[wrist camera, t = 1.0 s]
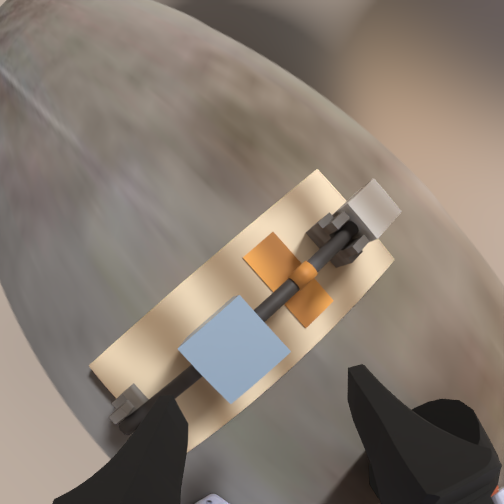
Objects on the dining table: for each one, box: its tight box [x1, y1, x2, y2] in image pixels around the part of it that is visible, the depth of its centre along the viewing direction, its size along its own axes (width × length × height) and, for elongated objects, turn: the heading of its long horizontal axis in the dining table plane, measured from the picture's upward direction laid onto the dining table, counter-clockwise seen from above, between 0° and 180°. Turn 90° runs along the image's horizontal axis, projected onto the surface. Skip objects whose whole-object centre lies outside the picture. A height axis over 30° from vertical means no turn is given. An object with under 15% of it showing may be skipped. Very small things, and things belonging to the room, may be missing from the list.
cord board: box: [89, 169, 402, 452], centre depth 20 cm, size 24×10×6 cm, turn 132°
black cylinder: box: [369, 399, 500, 499], centre depth 18 cm, size 10×34×10 cm, turn 44°
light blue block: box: [178, 295, 291, 404], centre depth 17 cm, size 4×4×6 cm
